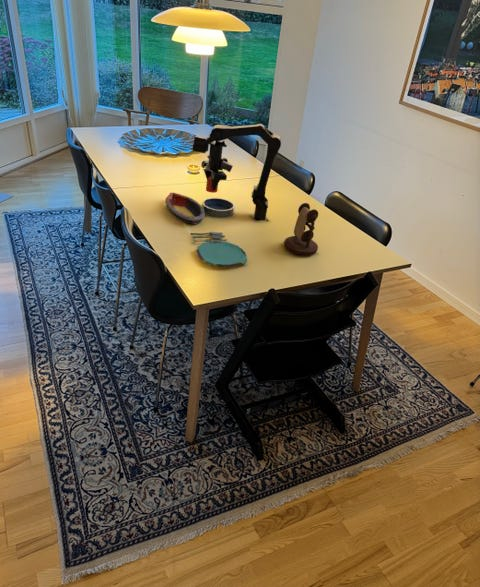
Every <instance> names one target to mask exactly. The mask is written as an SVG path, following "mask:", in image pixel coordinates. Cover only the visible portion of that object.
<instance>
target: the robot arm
mask: <svg viewBox="0 0 480 587" xmlns="http://www.w3.org/2000/svg"><path fill="white" fill-rule="evenodd" d="M246 136H259V138H260V139H262V140H263V142H264V143H265V144H266V145H267V146H266V155H265V158H264V162H263V165H262V168H261V173H260V175H259V176H260V177H259V180H258V183H257V184H256V185H255V184H253V190H252V192H251V195H250V196H251V199H252V200H251V201H252V203H253V205H255V207H254V212H253V214H251V217H252V218H253V219H254V221H256V222H265V221H266V222H268V221H269V219H268V218H267V212H268V208H269V199H268V198H267V197H266V189H267V185H268V181H269V178H270V174H271V171H272V167H273V164H274V160H275V158H276V156H277V155H278V153H279V151H280V149H281V147H282V140H281V137H280V136H279V134H277V133H273V132H272V130H270V129H268V128H267V127H266V126H264V124H262V123H257V124H248V125H237V126H229V125H225V124H216V125H214V126H213V127H212V129H211V131H210V134H208V135H207V137H202V136H198V135H195V136H194V137H193V138H194V139H193V144H192V152H193V153H199V154H206V153H207V152H209V153H208V155H206V156H207V157H206V158H207V159H208V160H202V161H201V165H200V166H201V168H202V169H203V173H204V175H205V178H206V180H207V179H208V177H210V180H211V185H212V189H213V190H215V189H216V187H217V185H218V186H219V183H220V182H221V181H227V178H228V175H227V173H225V172H224V171H227V172H228V173H231V171H232V169H233V167H234V166H233V164H232V163H230V162H228V158H226V157H223V150H224V149H223V148H227V147H228V143H227V142H226V140H228V139H230V138H236V137H246ZM223 170H224V171H223Z"/></svg>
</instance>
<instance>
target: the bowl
mask: <svg viewBox="0 0 480 587" xmlns="http://www.w3.org/2000/svg"><path fill="white" fill-rule="evenodd" d="M201 206H202V208H203V209H204V212H205V215H207V216H209V217H213V218H219V219H221V218H229V217H232V216H233V215H234V213H235V203H234V202H232V201H231V200H228V199H226V198H220V197H209V198H205V199H204V200H203V201H202V205H201Z"/></svg>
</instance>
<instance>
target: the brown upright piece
mask: <svg viewBox="0 0 480 587" xmlns="http://www.w3.org/2000/svg"><path fill="white" fill-rule="evenodd" d="M297 212H298V215H297V219H296V221H295V226H294V229H293V235H291V236H288V237H286V238H285V239H284V241H283V245H284V247H285V249H287V250H288V251H290V252H293V253H294V254H295V256H298V254H300V255H313V254H316V253H317V252H318V249H319V247H318V246H319V245H318V244H317V242H316V241H314V240H313V238H314V234H315V233H314V231H315V228H316V227H315V223H316V220H317V219H318V217H319V211H318V210H317V209H311V206H310V204H309V203H307V202H303V203H301V204H300V205H299V207H298V209H297ZM306 226H307V227H306ZM306 228H308V229H307V230H306Z"/></svg>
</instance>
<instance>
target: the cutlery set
mask: <svg viewBox="0 0 480 587" xmlns="http://www.w3.org/2000/svg"><path fill="white" fill-rule="evenodd" d="M205 235H206V236H205ZM207 235H210V236H207ZM190 236H192V237H191V238H192V239H204V240H194V241H193V242H194V244H195V243H199V242H200V243H201V242H202V243H201V244H199V245H197V246H196V248H197V249H196V253H197V256H198V257H199V259H200V260H202V261H204V263H205V264H206V265H208V266H211V267H214V266H218V267H235V266H238V265H241V264H243V265H245V264H246V263H247V261H248V256H247V254H246V251H245V250H244V249H243V248H241V246H239V245H237V244H235V243H232V242H228V239H224V238H226V236H225V235H223V232H219V231H217V232H216V231H209V232H190Z"/></svg>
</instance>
